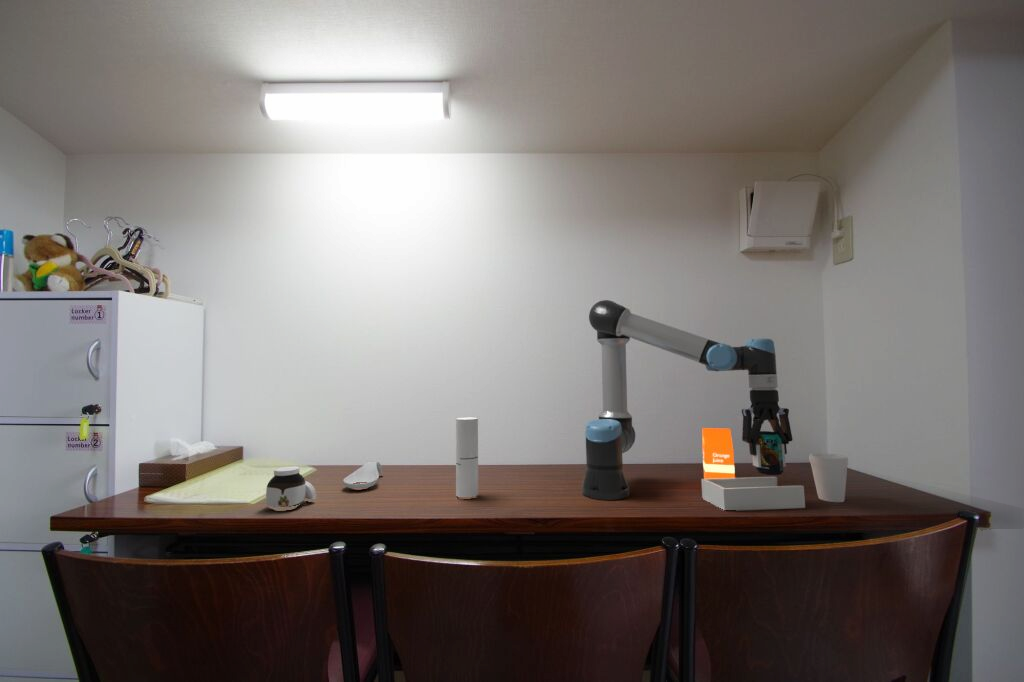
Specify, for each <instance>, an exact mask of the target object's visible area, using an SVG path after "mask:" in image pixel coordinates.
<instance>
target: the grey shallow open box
mask: <svg viewBox="0 0 1024 682" xmlns="http://www.w3.org/2000/svg"><path fill="white" fill-rule="evenodd" d="M700 481H701V495H702V496H701V498H703V499H702V500H704V501H706V502H708V503H709V502H710V504H712V505H713V506H715V507H716V508H718V507H719V508H718V509H720V508H721V509H720V510H722V509H723V510H722V511H724V510H736V511H755V510H756V511H757V510H758V511H759V510H762V511H763V510H782V509H783V510H785V509H786V510H787V509H806V498H805V486H804V485H780V486H779V485H778V477H777V476H751V477H748V476H747V477H746V476H745V477H735V478H714V479H704V478H701V480H700Z"/></svg>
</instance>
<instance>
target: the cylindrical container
mask: <svg viewBox="0 0 1024 682" xmlns="http://www.w3.org/2000/svg"><path fill="white" fill-rule="evenodd" d="M476 495H478V496H479V419H478V417H457V418H455V497H456V496H458V497H472V496H476Z"/></svg>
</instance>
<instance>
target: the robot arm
mask: <svg viewBox="0 0 1024 682" xmlns="http://www.w3.org/2000/svg"><path fill="white" fill-rule="evenodd" d="M588 321H589V324H590V326H591V327H592V328H593V330H595V331H596V337H597V338H596V340H597V342H598V343H599V344H600V345H601V374H602V375H601V377H602V378H601V379H602V381H601V382H602V383H601V384H602V386H601V387H602V411H601V413H599V414H598V419H595V420H594V419H593V420H591V421H589V422H587V423H586V425H585V433H584V435H585V454H586V456H585V457H586V458H585V459H586V460H585V461H586V462H585V463H586V471H585V474H584V477H583V480H582V485H581V493H582V495H584V496H585V497H587V498H591V499H595V500H606V501H607V500H608V501H612V500H613V501H615V500H617V501H618V500H622V499H626V498H629V496H630V487H629V484H628V481H627V479H626V476H625V473H624V468H623V467H624V466H623V464H624V463H623V460H624V459H623V454H625V453H626V452H628V451H629V450H630V449H632V447H633V445H634V443H635V441H636V431H635V427H634V426H633V416H632V414H630V412H628V388H627V387H628V386H627V385H628V384H627V383H628V382H627V381H628V380H627V349H626V347H627V346H626V345H627V344H628V343H629V342H630V341H631V339H634V340H636V341H639V342H641V343H645V344H647V345H649V346H653V347H656V348H658V349H660V350H663V351H667V352H669V353H672V354H675V355H678V356H680V357H682V358H686V359H688V360H691V361H695V362H697V363H699V364H702V365H705V369H706V370H707V371H708V372H724V371H726V372H727V371H728V372H729V371H747V372H748V388H749V389H750V391H749V400H750V403H751V404H750V407H749V408H746V409H745V408H741V414H742V435H741V436H742V437H741V440H742V442H744V443H747V444H748V447H749V455H751V456H752V457H751V458H752V466H754V467H755V468H756V467H761V457H760V445H758V444H757V441H758V437H759V434H760V431H762V430H761V429H762V425H763V424H764V422H765V421H768V422H769V424H770V427H771V429H772V430H773V431H772V432H777V433H778V436H779V437H780V438H781V445H782V458H783V467H787V466H786V465H787V464H786V463H787V462H786V455H787V453H788V451H787V445H789V444H790V442H793V440H794V439H793V435H792V429H791V424H790V423H791V422H790V419H789V413H790V409H789V408H785V407H780V406H779V400H780V399H779V391H778V390H777V389H778V386H779V385H778V375H777V373H778V372H777V363H776V362H777V361H776V360H777V357H776V349H775V342H774V341H773V339H770V338H752V339H747V340H746V341H745V345H743V346H731V345H728V344H726V343H720V342H717V341H715V340H711V339H709V338H706V337H704V336H699V335H697V334H694V333H691V332H688V331H685V330H681V329H679V328H677V327H673V326H670V325H667V324H664V323H661V322H659V321H656V320H653V319H649V318H647V317H643V316H640V315H639V314H638V315H637V314H635V313H632V312H631V310H630V308H626V307H625V306H623V305H621V304H619V303H616V302H614V301H612V300H608V299H603V300H599V301H597V302H596V303H595V304H593V305H592V307H591V308H590V310H589V313H588ZM752 415H753V417H752Z"/></svg>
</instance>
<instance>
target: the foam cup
mask: <svg viewBox="0 0 1024 682" xmlns="http://www.w3.org/2000/svg"><path fill="white" fill-rule="evenodd" d="M808 457H809V458H808V459H809V463H810V465H811V471H812V475H813V480H814V485H815V489H816V494H817V496H818V497H817V498H818V499H820V500H821V501H826V502H832V503H843V502H845V499H846V498H845V497H846V488H847V487H846V486H847V473H848V466H849V459H848V456H846V455H843V454H842V455H841V454H838V453H837V454H836V453H835V454H834V453H828V452H827V453H825V452H812V453H809V454H808Z"/></svg>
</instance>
